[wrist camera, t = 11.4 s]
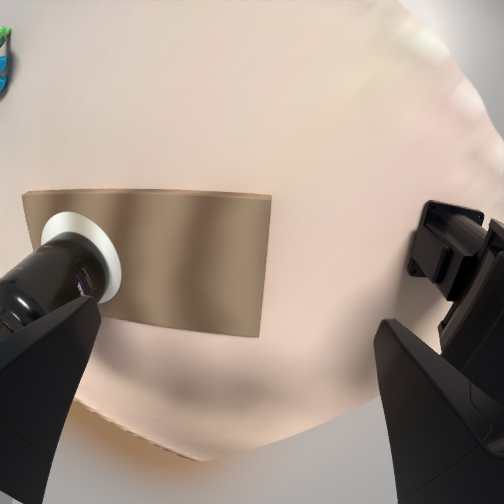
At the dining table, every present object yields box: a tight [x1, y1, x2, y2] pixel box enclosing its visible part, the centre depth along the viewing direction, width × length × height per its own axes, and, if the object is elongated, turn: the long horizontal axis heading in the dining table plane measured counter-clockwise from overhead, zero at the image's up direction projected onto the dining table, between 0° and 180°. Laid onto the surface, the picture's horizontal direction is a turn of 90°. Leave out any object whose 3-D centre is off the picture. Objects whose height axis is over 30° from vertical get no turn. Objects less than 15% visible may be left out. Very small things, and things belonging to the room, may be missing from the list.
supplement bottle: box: [0, 231, 109, 340], centre depth 17 cm, size 7×7×12 cm
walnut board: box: [22, 189, 271, 337], centre depth 22 cm, size 22×12×1 cm, turn 87°
